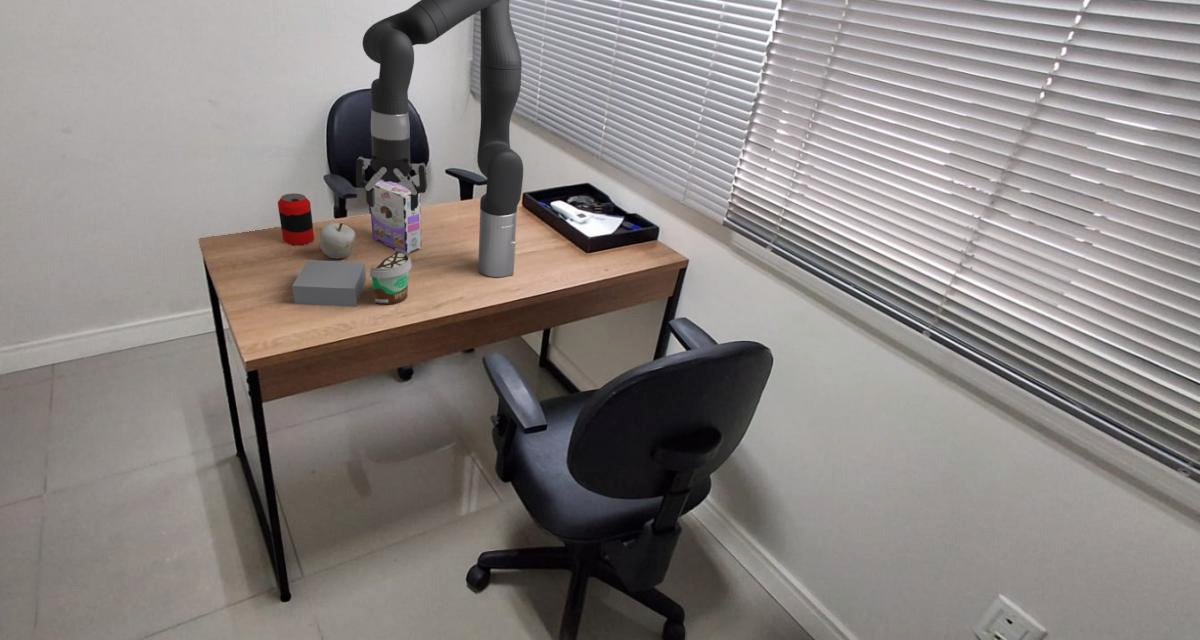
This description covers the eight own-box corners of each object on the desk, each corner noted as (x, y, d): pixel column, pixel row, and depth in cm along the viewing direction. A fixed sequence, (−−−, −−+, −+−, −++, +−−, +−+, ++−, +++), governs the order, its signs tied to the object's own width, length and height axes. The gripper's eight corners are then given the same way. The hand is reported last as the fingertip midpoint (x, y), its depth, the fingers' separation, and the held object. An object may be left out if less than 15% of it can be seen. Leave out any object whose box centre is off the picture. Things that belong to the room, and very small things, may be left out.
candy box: (422, 248, 169) (421, 191, 161) (406, 255, 165) (403, 196, 156) (388, 233, 175) (385, 177, 166) (371, 238, 170) (367, 181, 162)
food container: (397, 313, 140) (395, 274, 135) (372, 307, 140) (369, 268, 135) (421, 289, 150) (420, 252, 145) (398, 284, 151) (396, 247, 146)
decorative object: (320, 250, 160) (316, 215, 155) (355, 248, 164) (353, 213, 159) (321, 266, 154) (317, 229, 149) (359, 263, 157) (356, 227, 152)
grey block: (366, 281, 151) (365, 262, 148) (356, 307, 140) (354, 288, 137) (310, 278, 149) (307, 259, 146) (295, 305, 138) (292, 285, 135)
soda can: (287, 247, 160) (280, 204, 153) (280, 236, 164) (273, 193, 158) (317, 243, 164) (312, 201, 158) (310, 232, 169) (305, 190, 163)
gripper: (428, 132, 130) (428, 204, 139) (358, 124, 128) (362, 198, 136) (424, 142, 124) (424, 217, 132) (350, 134, 121) (354, 211, 130)
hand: (392, 207), depth 134 cm, fingers open, 8 cm apart
